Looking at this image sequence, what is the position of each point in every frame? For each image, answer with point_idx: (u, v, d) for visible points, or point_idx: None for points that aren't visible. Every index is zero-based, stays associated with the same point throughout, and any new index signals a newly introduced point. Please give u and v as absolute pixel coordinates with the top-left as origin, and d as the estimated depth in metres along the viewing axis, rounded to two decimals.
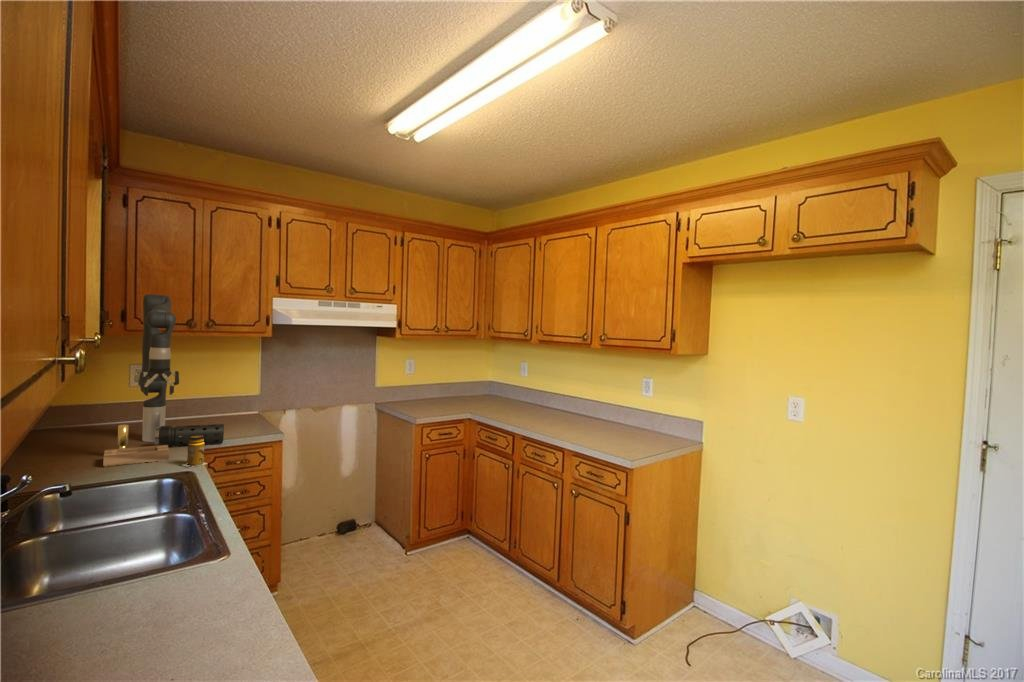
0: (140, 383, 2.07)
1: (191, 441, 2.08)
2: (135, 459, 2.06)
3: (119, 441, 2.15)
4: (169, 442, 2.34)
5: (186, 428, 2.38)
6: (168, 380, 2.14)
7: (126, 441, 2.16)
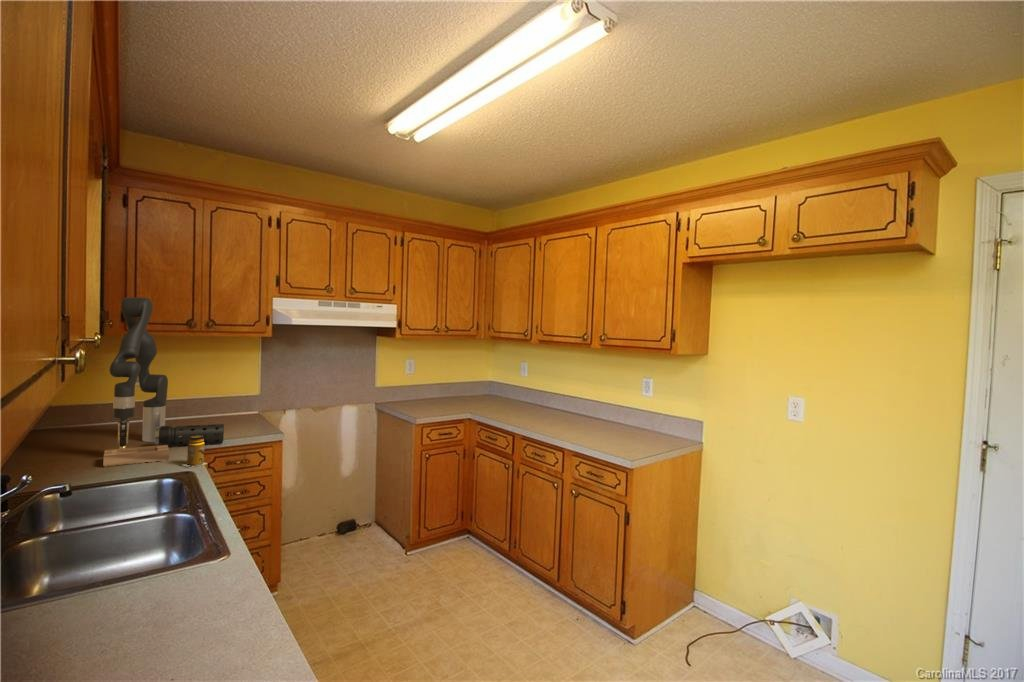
0: (126, 434, 2.13)
1: (191, 441, 2.08)
2: (135, 459, 2.06)
3: (119, 441, 2.15)
4: (169, 442, 2.34)
5: (186, 428, 2.38)
6: None
7: (126, 441, 2.16)
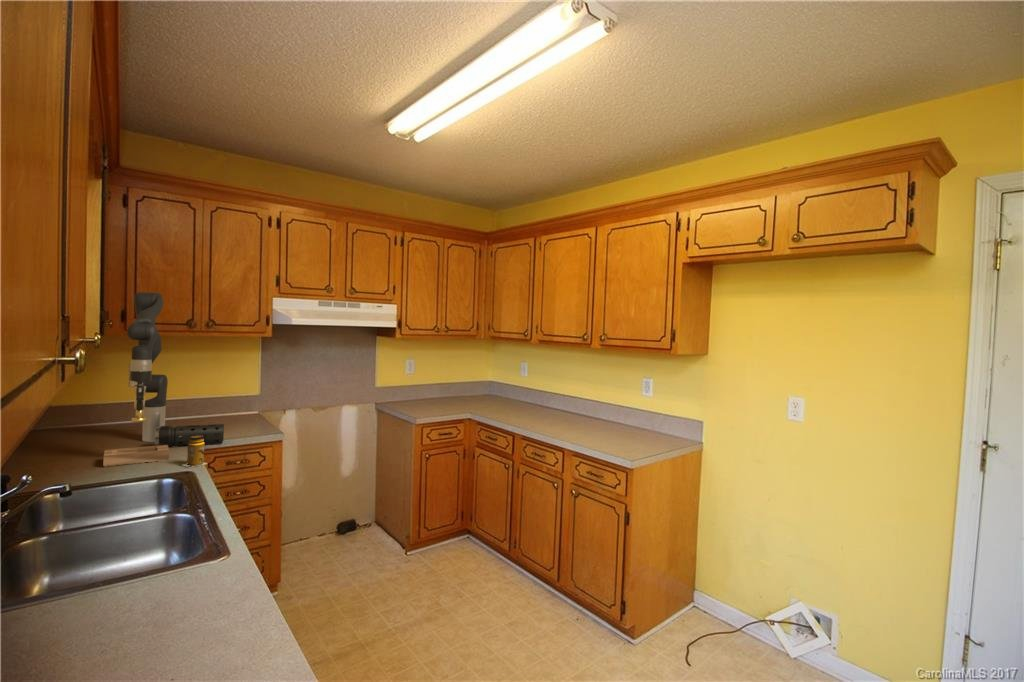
0: (143, 398, 2.10)
1: (191, 441, 2.08)
2: (135, 459, 2.06)
3: None
4: (169, 442, 2.34)
5: (186, 428, 2.38)
6: None
7: (143, 405, 2.13)
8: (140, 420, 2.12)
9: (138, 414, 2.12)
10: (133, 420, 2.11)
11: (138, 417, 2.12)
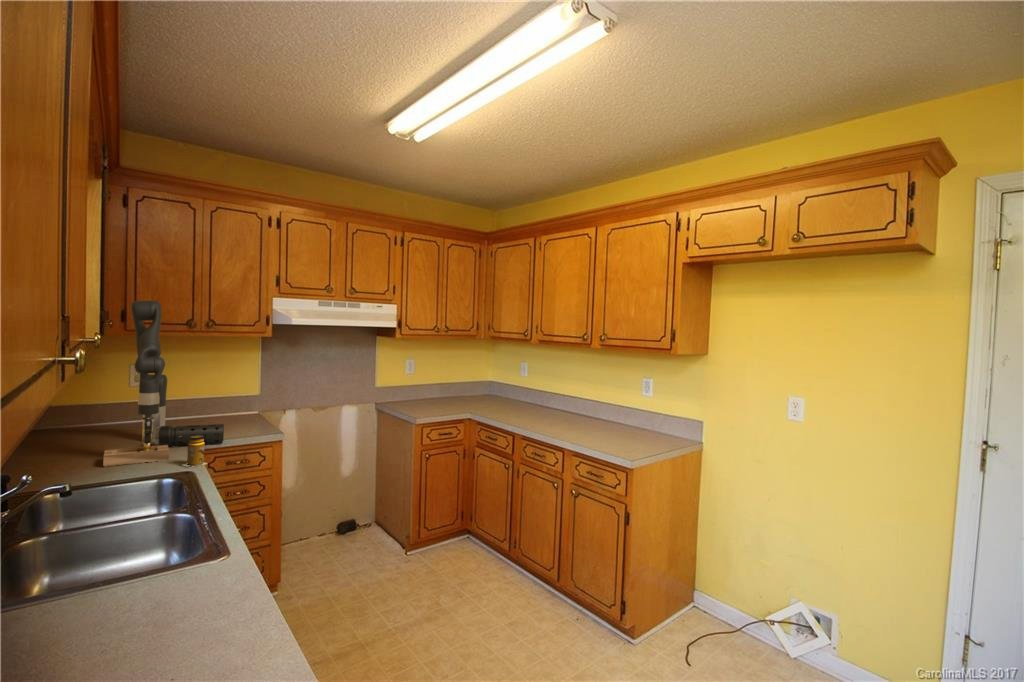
0: (151, 431, 2.11)
1: (191, 441, 2.08)
2: (135, 459, 2.06)
3: None
4: (169, 442, 2.34)
5: (186, 428, 2.38)
6: None
7: None
8: None
9: (146, 447, 2.12)
10: None
11: (146, 450, 2.12)
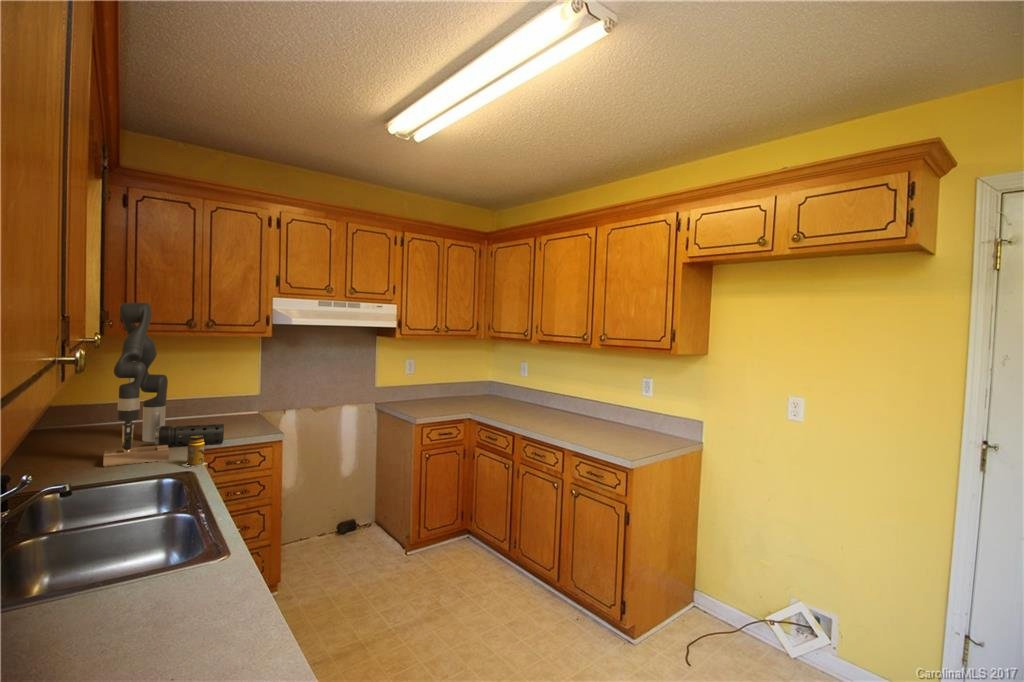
0: (131, 437, 2.06)
1: (191, 441, 2.08)
2: (135, 459, 2.06)
3: (123, 444, 2.08)
4: (169, 442, 2.34)
5: (186, 428, 2.38)
6: None
7: (131, 444, 2.09)
8: None
9: None
10: None
11: None
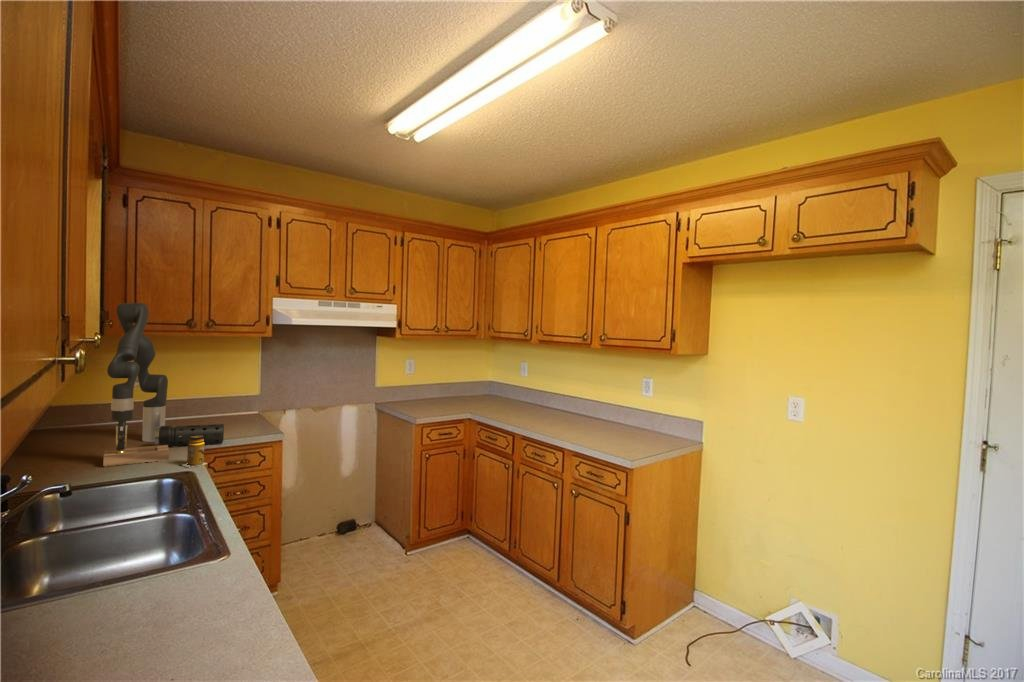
0: None
1: (191, 441, 2.08)
2: (135, 459, 2.06)
3: (117, 446, 2.06)
4: (169, 442, 2.34)
5: (186, 428, 2.38)
6: None
7: None
8: None
9: None
10: None
11: None
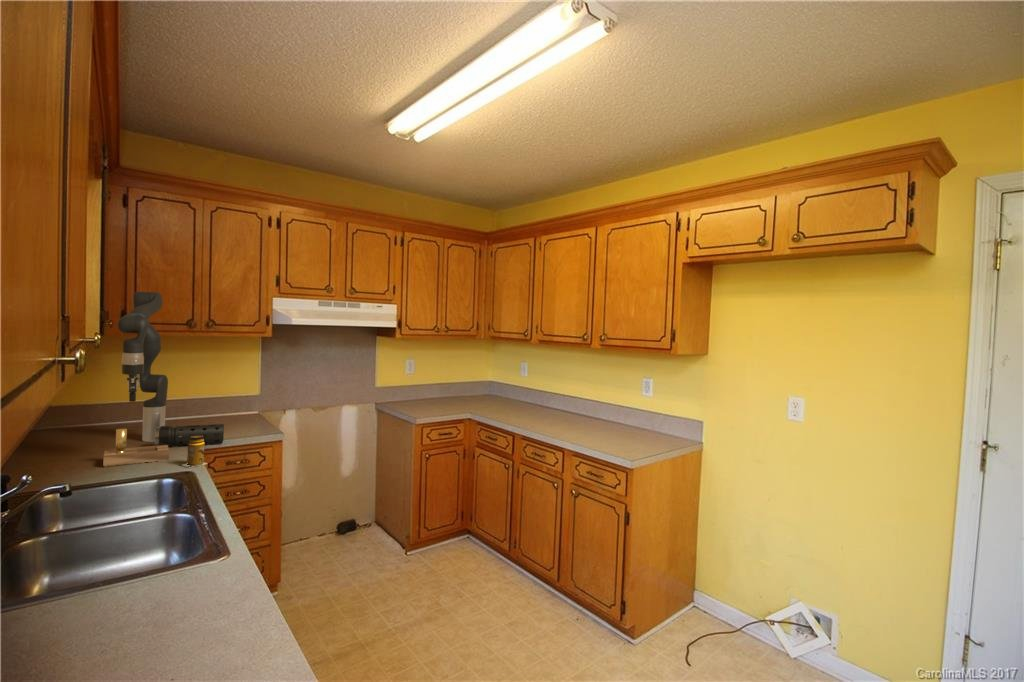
0: None
1: (191, 441, 2.08)
2: (135, 459, 2.06)
3: (117, 446, 2.06)
4: (169, 442, 2.34)
5: (186, 428, 2.38)
6: None
7: (124, 446, 2.08)
8: None
9: None
10: None
11: None
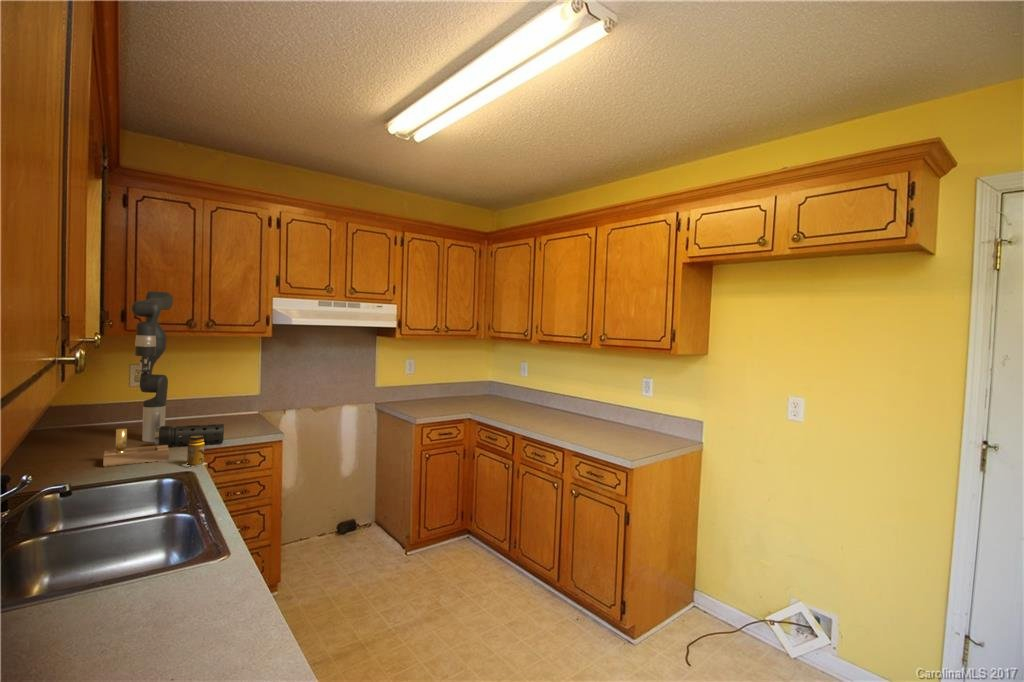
0: (148, 370, 2.18)
1: (191, 441, 2.08)
2: (135, 459, 2.06)
3: (117, 446, 2.06)
4: (169, 442, 2.34)
5: (186, 428, 2.38)
6: None
7: (124, 446, 2.08)
8: None
9: None
10: None
11: None
